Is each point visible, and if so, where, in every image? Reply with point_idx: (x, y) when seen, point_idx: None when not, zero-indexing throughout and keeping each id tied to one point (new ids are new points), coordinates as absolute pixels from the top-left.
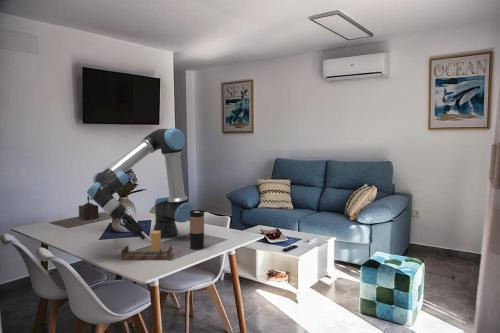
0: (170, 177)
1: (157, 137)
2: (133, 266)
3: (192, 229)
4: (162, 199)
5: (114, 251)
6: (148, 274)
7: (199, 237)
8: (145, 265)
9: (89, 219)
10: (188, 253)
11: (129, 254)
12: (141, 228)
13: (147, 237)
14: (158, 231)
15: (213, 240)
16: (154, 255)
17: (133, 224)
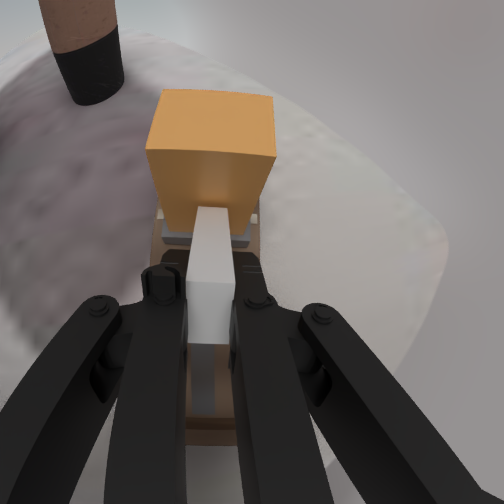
0: None
1: None
2: (353, 322)
3: (99, 21)
4: None
5: (100, 480)
6: (419, 232)
7: (118, 36)
8: (338, 264)
9: None
10: None
11: (226, 392)
12: (108, 308)
13: (228, 230)
14: (195, 100)
15: (44, 69)
16: (254, 222)
17: (269, 471)
